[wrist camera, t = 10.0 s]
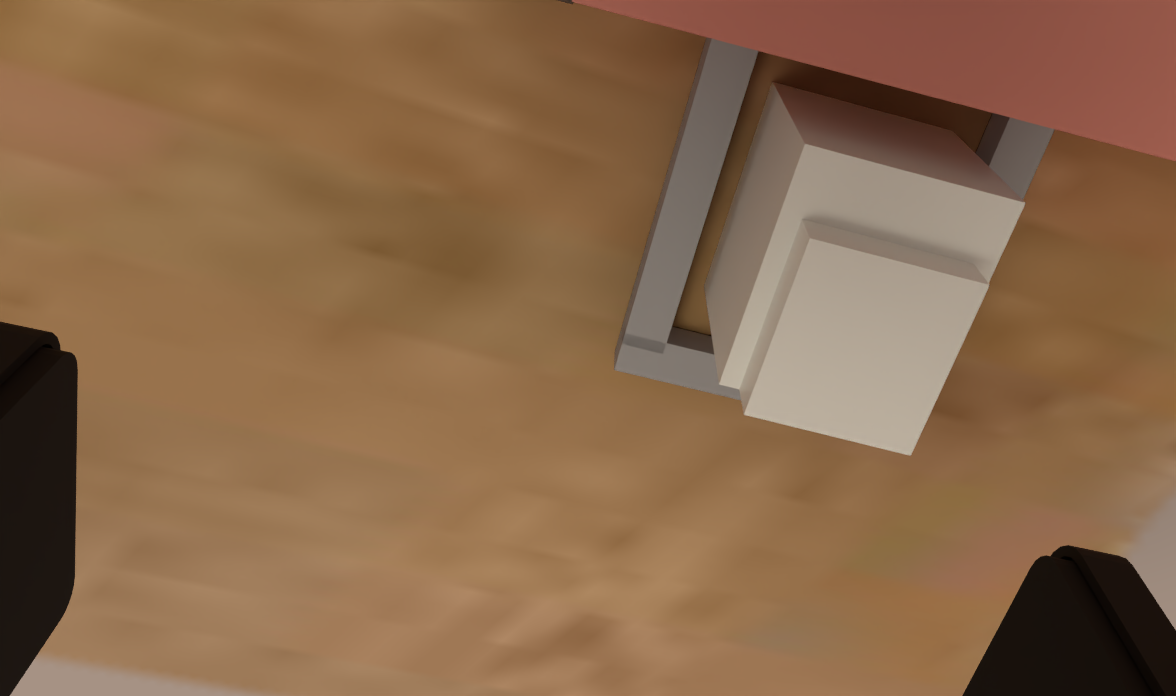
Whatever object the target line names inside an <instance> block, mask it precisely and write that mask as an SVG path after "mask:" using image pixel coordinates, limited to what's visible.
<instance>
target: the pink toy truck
mask: <svg viewBox="0 0 1176 696" xmlns="http://www.w3.org/2000/svg"><path fill="white" fill-rule="evenodd" d="M558 1H562V2H566V3H570V4H573V2H575V3H579V4H583V5H587V6H590V7H594V8H598V9H602V10H606V11H609V12H613V13H617V14H621V15H625V16H628V17H632V18H636V19H640V20H643V21H647V22H651V23H655V24H659V25H662V26H666V27H670V28H674V29H677V30H681V31H685V32H689V33H693V34H696V35H700V36H704V37H706V41H705V44H704V48H703V51H702V55H701V58H700V61H699V65H698V68H697V72H696V75H695V79H694V82H693V85H692V89H691V92H690V96H689V99H688V103H687V106H686V109H685V113H684V116H683V120H682V123H681V126H680V130H679V133H678V137H677V140H676V144H675V147H674V150H673V154H672V157H671V161H670V164H669V168H668V171H667V174H666V178H665V181H664V185H663V188H662V192H661V195H660V198H659V202H658V205H657V209H656V212H655V216H654V219H653V222H652V226H651V229H650V233H649V236H648V240H647V243H646V246H645V250H644V253H643V257H642V260H641V264H640V267H639V270H638V274H637V277H636V281H635V284H634V288H633V291H632V294H631V298H630V301H629V305H628V308H627V311H626V315H625V318H624V322H623V325H622V329H621V332H620V335H619V339H618V342H617V346H616V349H615V363H614V370H616V371H621V372H625V373H629V374H633V375H637V376H642V377H646V378H650V379H654V380H658V381H662V382H667V383H671V384H675V385H679V386H683V387H688V388H692V389H696V390H700V391H704V392H708V393H713V394H717V395H721V396H725V397H729V398H734V399H738V400H741V396H740V391H739V389H735V388H731V387H727V386H723V385H719V381H718V375H717V368H716V362H715V355H714V349H713V342H712V336H708V335H704V334H700V333H696V332H692V331H688V330H683V329H679V328H675V327H672V324H673V321H674V318H675V315H676V311H677V308H678V305H679V302H680V299H681V296H682V292H683V289H684V286H685V283H686V280H687V276H688V273H689V270H690V267H691V264H692V261H693V257H694V254H695V251H696V248H697V245H698V241H699V238H700V235H701V232H702V229H703V226H704V222H705V219H706V216H707V213H708V210H709V207H710V203H711V200H712V197H713V194H714V191H715V187H716V184H717V181H718V178H719V175H720V172H721V168H722V165H723V162H724V159H725V156H726V153H727V149H728V146H729V143H730V140H731V137H732V133H733V130H734V127H735V124H736V121H737V118H738V114H739V111H740V108H741V105H742V102H743V99H744V95H745V92H746V89H747V86H748V83H749V79H750V76H751V73H752V70H753V67H754V64H755V60H756V57H757V54H758V51H761V52H764V53H768V54H772V55H776V56H779V57H783V58H787V59H791V60H795V61H798V62H802V63H806V64H810V65H814V66H817V67H821V68H825V69H829V70H832V71H836V72H840V73H844V74H848V75H851V76H855V77H859V78H863V79H866V80H870V81H874V82H878V83H882V84H885V85H889V86H893V87H897V88H900V89H904V90H908V91H912V92H916V93H919V94H923V95H927V96H931V97H934V98H938V99H942V100H946V101H950V102H953V103H957V104H961V105H965V106H968V107H972V108H976V109H980V110H984V111H987V112H991V113H992V116H991V118H990V120H989V123H988V125H987V128H986V130H985V132H984V135H983V137H982V139H981V142H980V144H979V147H978V149H977V151H976V155H978V156H979V157H980V158H981V159H982V160H983V161H984V162H985V163H986V164H987V165H988V166H989V167H990V168H991V169H992V170H993V171H994V172H995V173H996V174H997V175H998V176H999V177H1000V178H1001V179H1002V180H1003V181H1004V182H1005V183H1006V184H1007V185H1008V186H1009V187H1010V188H1011V189H1012V190H1013V191H1014V192H1015V193H1016V194H1017V195H1018V196H1019V197H1020V198H1021V199H1022V200H1023V199H1024V196H1025V194H1026V192H1027V190H1028V187H1029V185H1030V183H1031V181H1032V179H1033V176H1034V174H1035V172H1036V170H1037V167H1038V165H1039V163H1040V161H1041V159H1042V156H1043V154H1044V152H1045V150H1046V147H1047V145H1048V143H1049V141H1050V139H1051V136H1052V134H1053V132H1054V130H1059V131H1063V132H1067V133H1071V134H1074V135H1078V136H1082V137H1086V138H1089V139H1093V140H1097V141H1101V142H1105V143H1108V144H1112V145H1116V146H1120V147H1123V148H1127V149H1131V150H1135V151H1139V152H1142V153H1146V154H1150V155H1154V156H1157V157H1161V158H1165V159H1169V160H1173V161H1176V0H558Z"/></svg>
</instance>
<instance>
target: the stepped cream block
mask: <svg viewBox="0 0 1176 696" xmlns="http://www.w3.org/2000/svg"><path fill="white" fill-rule="evenodd" d="M1024 206H1025V202H1024V201H1023V200H1022V199H1021V198H1020V197H1019V196H1018V195H1017V194H1016V193H1015V192H1014V191H1013V190H1012V189H1011V188H1010V187H1009V186H1008V185H1007V184H1006V183H1005V182H1004V181H1003V180H1002V179H1001V178H1000V177H999V176H998V175H997V174H996V173H995V172H994V171H993V170H992V169H991V168H990V167H989V166H988V165H987V164H986V163H985V162H984V161H983V160H982V159H981V158H980V157H979V156H978V155H976V154H975V153H974V152H973V151H972V150H971V149H970V148H969V147H968V146H967V145H966V144H965V143H964V142H963V141H962V140H961V139H960V138H959V137H958V136H957V135H956V134H955V133H954V132H953V131H952V130H948V129H944V128H941V127H937V126H933V125H930V124H926V123H922V122H919V121H915V120H911V119H908V118H904V117H900V116H897V115H893V114H889V113H886V112H882V111H878V110H875V109H871V108H867V107H864V106H860V105H856V104H853V103H849V102H845V101H842V100H838V99H834V98H831V97H827V96H823V95H820V94H816V93H812V92H809V91H805V90H801V89H798V88H794V87H790V86H787V85H783V84H779V83H776V82H772V84H771V87H770V90H769V93H768V96H767V99H766V102H765V105H764V108H763V111H762V114H761V117H760V120H759V123H758V126H757V129H756V132H755V135H754V138H753V141H752V144H751V147H750V150H749V153H748V156H747V159H746V162H745V165H744V168H743V171H742V174H741V177H740V180H739V183H738V186H737V189H736V192H735V194H734V197H733V200H732V203H731V206H730V209H729V212H728V215H727V218H726V221H725V224H724V227H723V230H722V233H721V236H720V239H719V242H718V245H717V248H716V251H715V254H714V257H713V260H712V263H711V266H710V269H709V272H708V275H707V278H706V281H705V284H704V289H705V296H706V303H707V309H708V316H709V322H710V329H711V335H712V342H713V349H714V355H715V362H716V368H717V375H718V381H719V385H723V386H727V387H731V388H735V389H739V391H740V396H741V402H742V407H743V413H744V415H747V416H751V417H755V418H759V419H764V420H768V421H772V422H776V423H780V424H784V425H788V426H792V427H796V428H800V429H804V430H808V431H812V432H816V433H820V434H824V435H828V436H832V437H837V438H841V439H845V440H849V441H853V442H857V443H861V444H865V445H869V446H873V447H877V448H881V449H885V450H889V451H893V452H897V453H901V454H906V455H910V456H911V454H912V452H913V450H914V447H915V445H916V443H917V441H918V439H919V437H920V434H921V432H922V430H923V428H924V426H925V424H926V422H927V419H928V417H929V415H930V413H931V411H932V409H933V406H934V404H935V402H936V400H937V398H938V396H939V393H940V391H941V389H942V387H943V385H944V383H945V381H946V378H947V376H948V374H949V372H950V370H951V368H952V365H953V363H954V361H955V359H956V357H957V355H958V353H959V350H960V348H961V346H962V344H963V342H964V340H965V337H966V335H967V333H968V331H969V329H970V327H971V324H972V322H973V320H974V318H975V316H976V314H977V312H978V309H979V307H980V305H981V303H982V301H983V299H984V296H985V294H986V292H987V290H988V288H989V286H990V285H989V281H990V279H991V277H992V275H993V273H994V270H995V268H996V266H997V264H998V262H999V260H1000V257H1001V255H1002V253H1003V251H1004V249H1005V247H1006V244H1007V242H1008V240H1009V238H1010V236H1011V234H1012V231H1013V229H1014V227H1015V225H1016V223H1017V221H1018V219H1019V216H1020V214H1021V212H1022V210H1023V208H1024Z"/></svg>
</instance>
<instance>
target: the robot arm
mask: <svg viewBox="0 0 1176 696" xmlns="http://www.w3.org/2000/svg"><path fill="white" fill-rule="evenodd" d="M77 378H78V369H77V360H76V357H75V355H73V354H72V353H70V352H66V351H61V350H60V344H59V341H58V338H57V336H56V335H54V334H53V333H52V332H47V331H42V330H37V329H33V328H28V327H23V326H18V325H13V324H9V323H4V322H0V696H10V694H11V693H12V691H13V690H14V688H15V687H16V685H17V684H18V682H19V681H20V679H21V678H22V677H23V675H24V674H25V672H26V670H27V669H28V668H29V666H30V665H31V663H32V662H33V660H34V659H35V657H36V656H37V654H38V653H39V651H40V650H41V648H42V647H43V645H44V644H45V642H46V641H47V639H48V638H49V636H50V635H51V633H52V632H53V630H54V629H55V627H56V626H57V624H58V623H59V621H60V620H61V618H62V616H63V615H64V613H65V611H66V608H67V606H68V604H69V601H70V598H71V595H72V591H73V586H74V579H75V526H76V452H77ZM963 696H1176V630H1175V629H1174V627H1173V626H1172V624H1171V623H1170V621H1169V620H1168V618H1167V617H1166V615H1165V614H1164V612H1163V611H1162V609H1161V608H1160V606H1159V605H1158V603H1157V602H1156V600H1155V599H1154V597H1153V595H1152V594H1151V593H1150V591H1149V590H1148V588H1147V586H1146V585H1145V583H1144V582H1143V580H1142V579H1141V578H1140V576H1139V574H1138V573H1137V571H1136V570H1135V568H1134V567H1133V565H1132V564H1131V563H1130V562H1129V561H1128V560H1127V559H1126V558H1123V557H1120V556H1117V555H1112V554H1107V553H1103V552H1098V551H1093V550H1088V549H1084V548H1079V547H1074V546H1069V545H1067V546H1062V547H1060V548H1058V549H1057V550H1056V551H1054V552H1053V554H1052V555H1051V556H1041V557H1040V558H1038V559H1037V560H1036V561H1035V562H1034V564H1033V565H1032V566H1031V568H1030V570H1029V572H1028V574H1027V576H1026V577H1025V579H1024V581H1023V583H1022V585H1021V587H1020V589H1019V591H1018V592H1017V594H1016V596H1015V598H1014V600H1013V602H1012V604H1011V606H1010V607H1009V609H1008V611H1007V613H1006V615H1005V617H1004V619H1003V621H1002V622H1001V624H1000V626H999V628H998V630H997V632H996V634H995V636H994V637H993V639H992V641H991V643H990V645H989V647H988V649H987V651H986V652H985V654H984V656H983V658H982V660H981V662H980V664H979V666H978V667H977V669H976V671H975V673H974V675H973V677H972V679H971V681H970V682H969V684H968V686H967V688H966V690H965V692H964V694H963Z"/></svg>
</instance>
